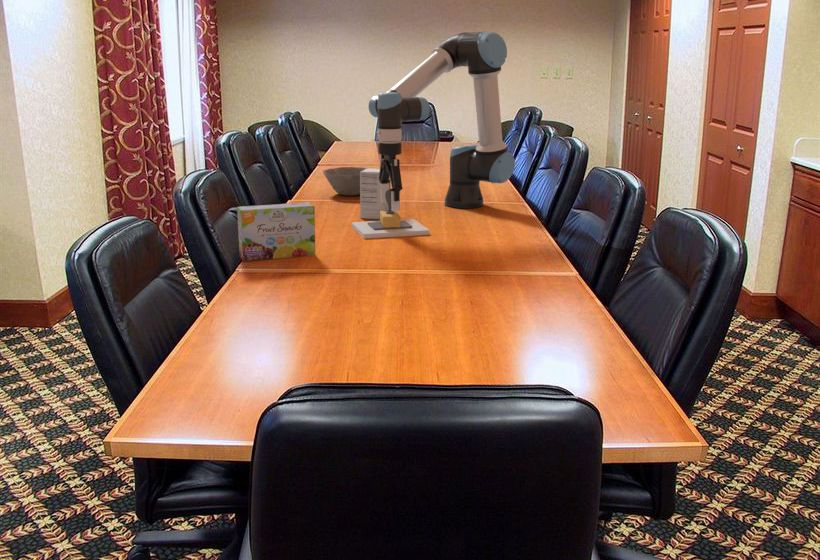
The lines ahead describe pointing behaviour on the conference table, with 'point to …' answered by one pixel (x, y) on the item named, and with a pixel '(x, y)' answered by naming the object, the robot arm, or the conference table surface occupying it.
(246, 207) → the snack box
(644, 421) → the conference table surface
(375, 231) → the pad
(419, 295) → the conference table surface
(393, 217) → the rubber stamp
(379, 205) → the supplement box
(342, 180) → the ceramic bowl
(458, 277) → the conference table surface
